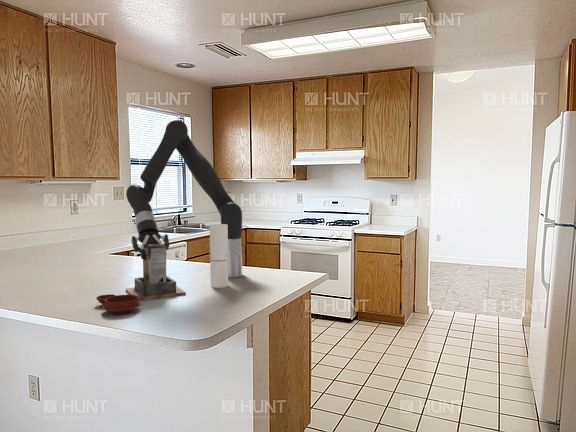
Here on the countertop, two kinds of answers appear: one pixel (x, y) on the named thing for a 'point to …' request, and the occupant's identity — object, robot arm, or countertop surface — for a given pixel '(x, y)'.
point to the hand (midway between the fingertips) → (154, 258)
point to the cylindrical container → (219, 255)
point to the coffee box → (154, 264)
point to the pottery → (119, 303)
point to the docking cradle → (155, 289)
